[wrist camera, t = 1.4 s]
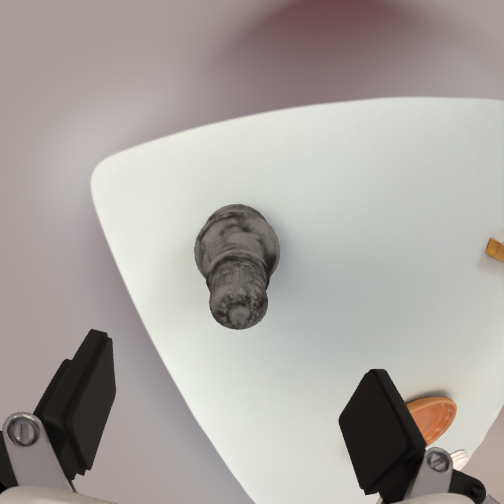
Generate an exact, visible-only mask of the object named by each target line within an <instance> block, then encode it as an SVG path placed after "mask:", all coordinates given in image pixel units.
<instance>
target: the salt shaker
mask: <svg viewBox="0 0 504 504" xmlns="http://www.w3.org/2000/svg"><path fill="white" fill-rule="evenodd" d="M194 253H195V261H196V264H197V267H198V269H199V271H200V272H201V274H202V275H203V276H204V278H205V279H206V284H207V286H208V289H209V291H210V300H209V304H210V310H211V313H212V315H213V317H214V318H215V320H216V321H217V322H218V323H220V324H221V325H222V326H225V327H227V328H230V329H236V330H239V329H246V328H250V327H252V326H254V325H256V324H257V323H259V322H260V321H261V320H262V318H263V317H264V316H265V314H266V311H267V307H268V298H267V293H266V290H267V288H268V285H269V280H270V277H271V275H272V274H273V272H274V271H275V269H276V267H277V264H278V261H279V257H280V246H279V242H278V238H277V236H276V234H275V232H274V231H273V229H272V227H271V226H270V225H269V224H267V222H266V220H265V219H264V217H263V216H262V215H261V214H260V213H259V212H258V211H257V210H255V209H253V208H251V207H249V206H245V205H241V204H237V205H228V206H225V207H222V208H221V209H219V210H217V211H216V212H214V214H213V215H212V216H211V217H210V218H209V219H208V221H207V223H206V225H205V226H204V227H203V228H202V229H201V231H200V233H199V235H198V237H197V239H196V243H195V248H194Z"/></svg>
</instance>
